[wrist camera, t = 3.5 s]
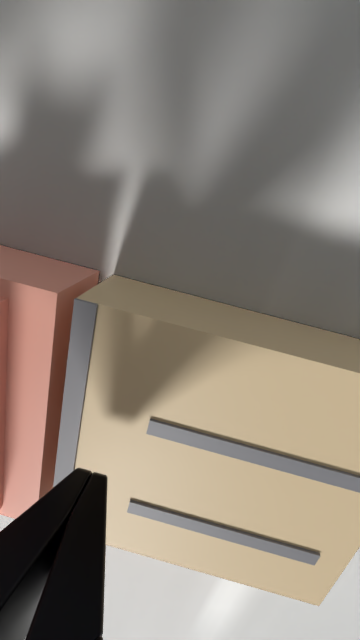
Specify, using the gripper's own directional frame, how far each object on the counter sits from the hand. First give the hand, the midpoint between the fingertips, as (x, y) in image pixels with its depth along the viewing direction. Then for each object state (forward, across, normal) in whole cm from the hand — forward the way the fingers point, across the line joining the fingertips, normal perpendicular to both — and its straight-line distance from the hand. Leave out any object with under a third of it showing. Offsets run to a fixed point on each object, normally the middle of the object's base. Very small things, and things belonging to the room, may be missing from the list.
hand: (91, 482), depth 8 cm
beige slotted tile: (+4, -3, 0) cm, 6 cm away
